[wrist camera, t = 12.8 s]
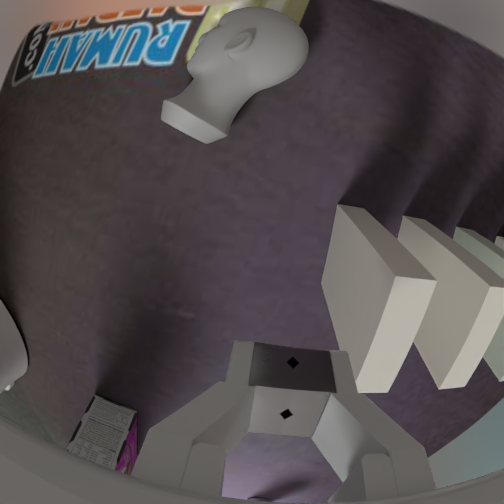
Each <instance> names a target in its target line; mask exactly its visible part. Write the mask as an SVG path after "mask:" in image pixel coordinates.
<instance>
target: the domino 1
mask: <svg viewBox="0 0 504 504" xmlns="http://www.w3.org/2000/svg"><path fill="white" fill-rule="evenodd" d="M436 283H437V280H436V279H435V278H434V277H433V276H432V275H431V274H430V273H429V271H428V270H427V269H426V268H425V267H424V266H423V265H422V264H421V263H420V262H419V261H418V260H417V259H416V258H415V257H414V256H413V255H412V254H411V253H410V252H409V251H408V250H407V249H406V248H405V247H404V246H403V245H402V244H401V243H400V242H399V241H398V240H397V239H396V238H395V237H394V236H393V235H392V234H391V233H390V232H389V231H388V230H387V229H386V228H385V227H383V226H382V225H381V224H380V223H379V222H378V221H377V220H376V219H375V218H374V217H373V216H372V215H371V214H370V213H368V212H367V211H366V210H365V209H364V208H359V207H353V206H347V205H341V204H337V209H336V215H335V220H334V225H333V230H332V235H331V240H330V245H329V250H328V254H327V259H326V264H325V268H324V273H323V277H322V282H321V285H322V288H323V291H324V295H325V298H326V302H327V305H328V309H329V312H330V316H331V319H332V323H333V326H334V330H335V334H336V337H337V341H338V345H339V348H340V351H347V352H348V354H349V358H350V362H351V366H352V370H353V374H354V378H355V382H356V386H357V390H358V393H387V392H388V391H389V389H390V387H391V385H392V383H393V381H394V380H395V378H396V376H397V374H398V372H399V370H400V368H401V366H402V364H403V362H404V360H405V358H406V355H407V353H408V351H409V349H410V347H411V345H412V343H413V340H414V338H415V336H416V334H417V331H418V329H419V327H420V324H421V322H422V319H423V317H424V315H425V312H426V310H427V307H428V304H429V302H430V299H431V297H432V294H433V291H434V289H435V286H436Z"/></svg>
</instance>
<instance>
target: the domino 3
mask: <svg viewBox="0 0 504 504" xmlns="http://www.w3.org/2000/svg"><path fill="white" fill-rule="evenodd" d="M453 240H454V241H456V242H457V243H458V244H460V245H461V246H462V247H464V248H465V249H466V250H468V251H469V252H470V253H472V254H473V255H474V256H475V257H477V258H478V259H479V260H481V261H482V262H483V263H484V264H486V265H487V266H488V267H489V268H491V269H492V270H493V271H494V272H495V273H497V274H498V275H499V276H500V277H501V278H503V279H504V250H502V249H501V248H500V247H498V246H497V245H495V244H494V243H492V242H491V241H489V240H488V239H486V238H485V237H483V236H481V235H480V234H478V233H477V232H475V231H474V230H470V229H466V228H461V227H457V226H456V229H455V232H454V236H453ZM483 358H484V359H485V361H486V362H487V364H488V365H489V367H490V368H491V369H492V371H493V372H494V374H495V375H496V377H497V378H498V380H499V381H504V316H503V318H502V320H501V322H500V324H499V326H498V328H497V330H496V332H495V334H494V336H493V338H492V340H491V342H490V344H489V346H488V348H487V349H486V351H485V353H484V355H483Z"/></svg>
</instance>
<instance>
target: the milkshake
mask: <svg viewBox="0 0 504 504" xmlns="http://www.w3.org/2000/svg"><path fill="white" fill-rule="evenodd" d="M247 500H253V501H265V502H270V500H268V499H266V498H260V497H259V498H250V499H247Z"/></svg>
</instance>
